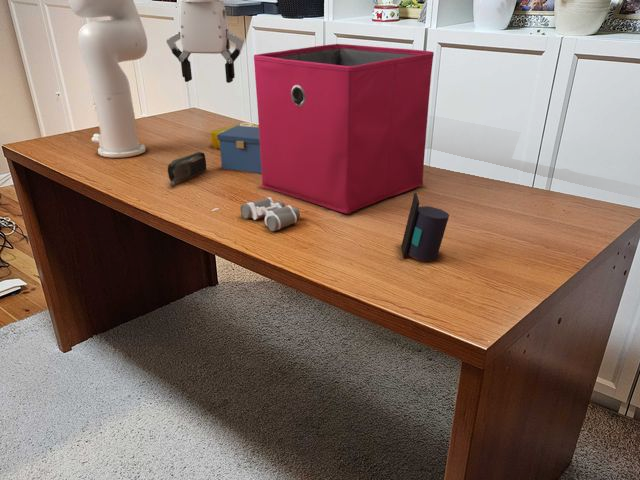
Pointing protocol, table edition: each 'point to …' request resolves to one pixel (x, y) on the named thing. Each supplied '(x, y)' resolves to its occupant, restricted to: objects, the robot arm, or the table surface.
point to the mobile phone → (186, 167)
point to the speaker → (424, 231)
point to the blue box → (241, 149)
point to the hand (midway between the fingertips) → (209, 81)
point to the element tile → (215, 132)
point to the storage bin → (343, 122)
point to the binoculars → (271, 213)
